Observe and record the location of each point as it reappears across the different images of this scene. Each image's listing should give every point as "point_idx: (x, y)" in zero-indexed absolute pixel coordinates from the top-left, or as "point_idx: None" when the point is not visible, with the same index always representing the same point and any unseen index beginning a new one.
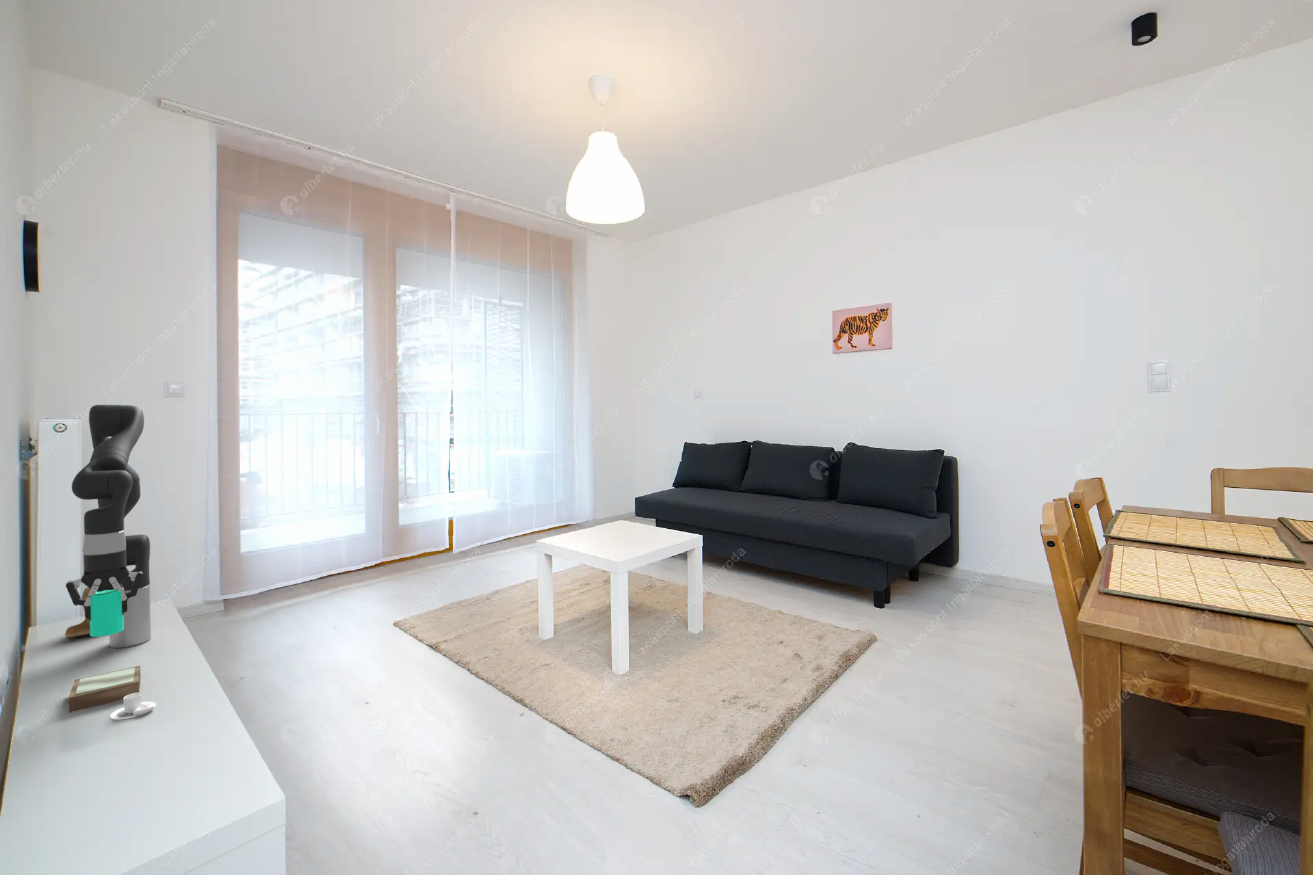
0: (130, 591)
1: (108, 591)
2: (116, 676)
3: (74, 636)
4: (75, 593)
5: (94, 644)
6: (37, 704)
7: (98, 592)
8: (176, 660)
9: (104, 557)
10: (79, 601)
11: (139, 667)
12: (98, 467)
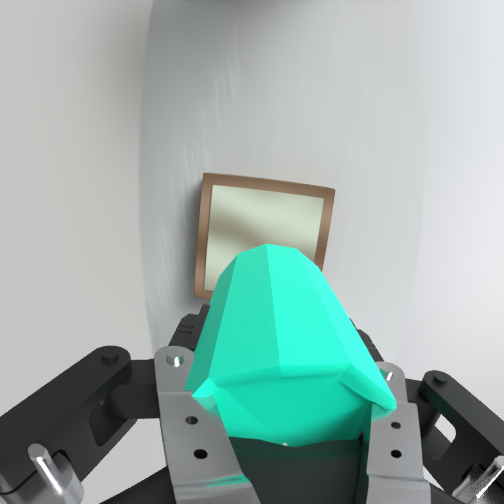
0: (423, 407)
1: (306, 416)
2: (282, 237)
3: None
4: (87, 463)
5: None
6: (151, 184)
7: (232, 394)
8: (398, 127)
9: None
10: (130, 425)
11: (331, 203)
12: None
